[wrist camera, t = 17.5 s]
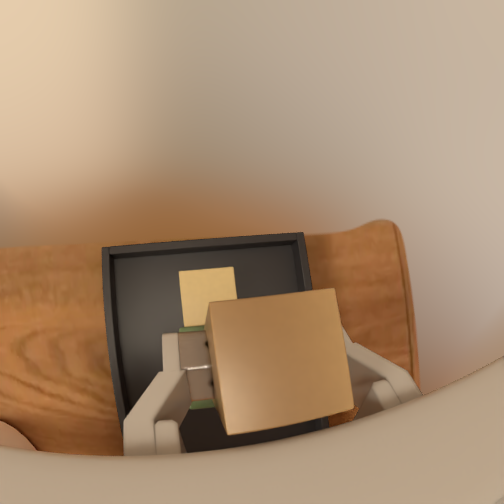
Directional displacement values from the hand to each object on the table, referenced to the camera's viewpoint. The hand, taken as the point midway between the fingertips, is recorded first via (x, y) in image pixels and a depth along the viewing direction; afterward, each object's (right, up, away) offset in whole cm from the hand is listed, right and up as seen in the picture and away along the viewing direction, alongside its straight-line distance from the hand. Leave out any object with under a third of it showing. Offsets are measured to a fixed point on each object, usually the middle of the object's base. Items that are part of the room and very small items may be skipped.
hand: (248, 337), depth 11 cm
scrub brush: (-1, -2, +4) cm, 5 cm away
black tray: (-3, -5, +13) cm, 14 cm away
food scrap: (-3, 0, +13) cm, 13 cm away
